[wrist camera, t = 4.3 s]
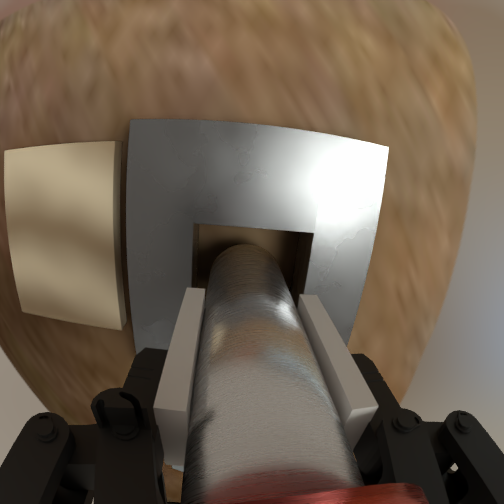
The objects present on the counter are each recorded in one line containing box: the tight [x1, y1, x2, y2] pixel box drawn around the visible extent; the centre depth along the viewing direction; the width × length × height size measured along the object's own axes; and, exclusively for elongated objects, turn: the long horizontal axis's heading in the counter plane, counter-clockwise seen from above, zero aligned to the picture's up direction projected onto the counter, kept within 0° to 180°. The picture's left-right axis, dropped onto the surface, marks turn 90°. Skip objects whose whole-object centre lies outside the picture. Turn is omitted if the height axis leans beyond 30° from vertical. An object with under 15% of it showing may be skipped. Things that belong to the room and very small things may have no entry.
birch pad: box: [4, 141, 127, 330], centre depth 16 cm, size 12×9×1 cm
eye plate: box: [126, 119, 389, 355], centre depth 17 cm, size 16×13×3 cm
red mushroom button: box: [181, 244, 429, 504], centre depth 10 cm, size 6×6×15 cm
